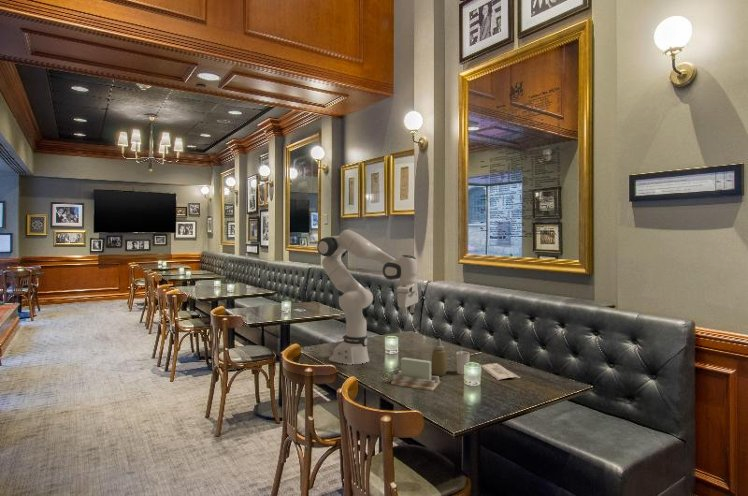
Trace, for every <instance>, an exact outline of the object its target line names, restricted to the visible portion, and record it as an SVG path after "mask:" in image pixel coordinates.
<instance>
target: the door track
mask: <svg viewBox="0 0 748 496" xmlns="http://www.w3.org/2000/svg"><path fill="white" fill-rule="evenodd" d="M397 373H398V374H393V375H392V381H390V382H391V383H390V384H391V385H395V386H399V387H400V386H401V387H406V388H414V389H419V390H425V391H431V392H433V391H434V390H435V389H436V388H437V386H439V385H440V384H441V380H440V376H435V375H432V374H431V380H427V379H420V378H414V377H407V376H401V370H398V371H397Z"/></svg>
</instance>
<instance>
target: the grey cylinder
mask: <svg viewBox="0 0 748 496" xmlns="http://www.w3.org/2000/svg"><path fill="white" fill-rule="evenodd" d="M470 357H471V356H470V352H468V351H456V354H455V358H456V373H457V374H458V375H462V376H463V374H464V365H465V364H466V363H469V364H470V359H471V358H470Z"/></svg>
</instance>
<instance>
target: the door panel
mask: <svg viewBox="0 0 748 496" xmlns="http://www.w3.org/2000/svg"><path fill="white" fill-rule="evenodd" d="M431 362H432V360H424V359H418V358H412V357H410V358H409V357H402V358H400V371H401V376H407V377H414V378H420V379H427V380H431V375H432V369H431Z"/></svg>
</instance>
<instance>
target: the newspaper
mask: <svg viewBox="0 0 748 496" xmlns="http://www.w3.org/2000/svg"><path fill="white" fill-rule="evenodd" d="M481 366H482V368H481V369H483V370H484V371H485V372H486V371H487V374H489V375H490V374H491V376H492V377H493V378H494V377H495V378H496V380H497V381H501V380H503V379H511V378H512V379H511V380H515V381H517V380H519V379H520V378H521V376H519V375H517V374H516V373H514V372H513V371H510V370H508V369H507V368H505V367H504V366H502V365H501V364H499V363H497V362H495V363H487V364H482V365H481ZM495 378H494V379H495Z"/></svg>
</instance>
